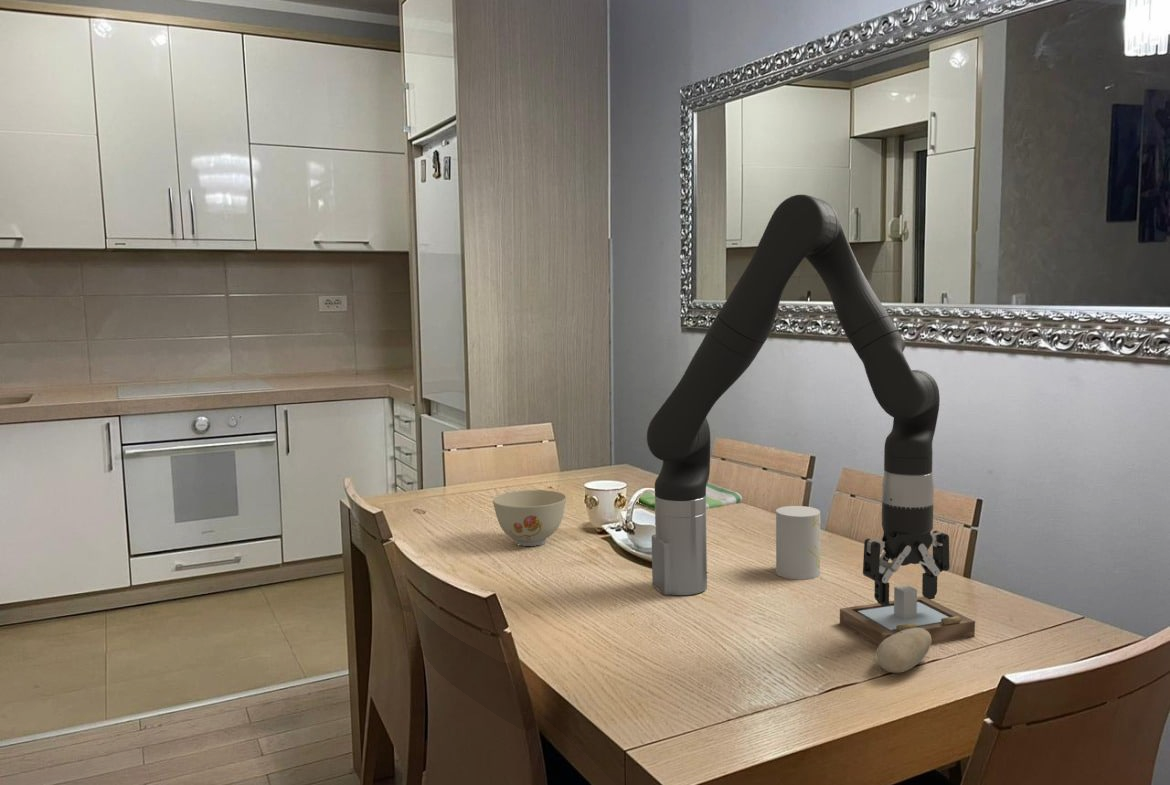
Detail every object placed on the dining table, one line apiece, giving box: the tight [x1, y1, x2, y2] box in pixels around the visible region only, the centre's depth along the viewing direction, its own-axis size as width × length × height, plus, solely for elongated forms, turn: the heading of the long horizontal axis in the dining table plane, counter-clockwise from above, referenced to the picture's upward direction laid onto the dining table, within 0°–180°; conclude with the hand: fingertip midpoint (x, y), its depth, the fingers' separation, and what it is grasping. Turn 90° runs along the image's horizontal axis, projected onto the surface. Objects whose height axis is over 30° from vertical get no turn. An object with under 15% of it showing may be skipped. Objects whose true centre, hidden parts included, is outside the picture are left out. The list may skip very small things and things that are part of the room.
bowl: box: [492, 489, 567, 547], centre depth 193 cm, size 16×16×10 cm
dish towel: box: [638, 481, 743, 511], centre depth 227 cm, size 17×23×4 cm
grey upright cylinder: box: [775, 505, 821, 581], centre depth 168 cm, size 8×8×12 cm
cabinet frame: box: [839, 595, 976, 648], centre depth 140 cm, size 16×12×3 cm
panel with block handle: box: [858, 584, 948, 632], centre depth 139 cm, size 12×8×6 cm
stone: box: [876, 628, 932, 674], centre depth 127 cm, size 6×6×12 cm
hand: (905, 600), depth 139 cm, fingers open, 8 cm apart
